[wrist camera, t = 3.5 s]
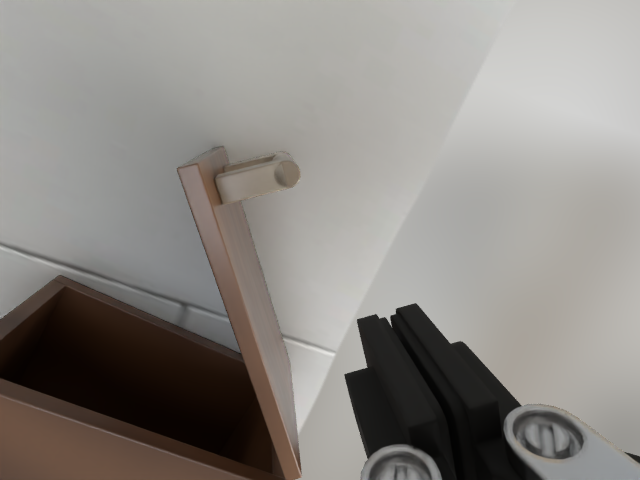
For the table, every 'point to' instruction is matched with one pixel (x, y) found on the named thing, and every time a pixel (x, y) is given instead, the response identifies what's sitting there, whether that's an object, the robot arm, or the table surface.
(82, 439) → the cupboard
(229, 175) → the cupboard door
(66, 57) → the table surface
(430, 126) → the table surface
